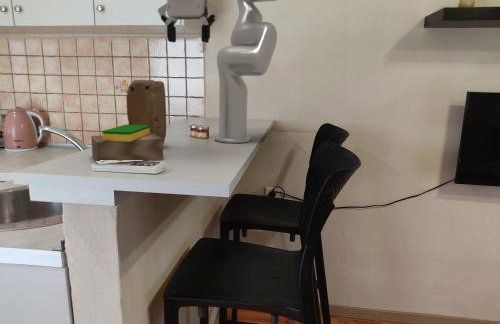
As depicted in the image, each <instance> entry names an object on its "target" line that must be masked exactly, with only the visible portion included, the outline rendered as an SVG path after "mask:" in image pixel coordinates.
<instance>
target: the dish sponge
mask: <svg viewBox="0 0 500 324" xmlns="http://www.w3.org/2000/svg"><path fill="white" fill-rule="evenodd" d="M149 127H150V126H149V125H128V124H123V125H120V126H116V127H112V128H109V129H103V130H102V131H101V136H102V139H103V140H104V141H124V142H130V141H133V140H135V139H138V138H140V137H143V136H145V135H148V134H150V128H149Z"/></svg>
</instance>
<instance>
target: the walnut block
mask: <svg viewBox="0 0 500 324" xmlns="http://www.w3.org/2000/svg"><path fill="white" fill-rule="evenodd" d="M90 137H91V151H92V155H91V156H92V159H93V160H94V159H95V160H94V162H96V161H100V160H143V161H142V162H150V160H153V161H163V160H164V144H163V138H161V137H159V136H157V135H155V134H153V133H150V134H148V135H145V136H143V137H140V138H138V139H135V140H133V141H130V142H124V141H104V140H103V139H102V135H91V136H90ZM148 160H149V161H148Z"/></svg>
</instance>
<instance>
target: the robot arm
mask: <svg viewBox="0 0 500 324" xmlns="http://www.w3.org/2000/svg"><path fill="white" fill-rule="evenodd" d="M276 1H278V0H236V3H237V7H238V17H237V19H236V22H235V24H234V26H233V29H232V31H231V34H230V44H231V45H227V46H224V47H222V48H220V49H219V51H218V52H217V55H216V66H217V70H218V79H219V80H218V82H219V93H218V94H219V100H218V101H219V103H218V105H219V108H218V109H219V111H218V112H219V113H218V114H219V115H218V117H219V118H218V134H217V135H215V136H214V138H213V139H214V141H215V142H219V143H225V144H226V143H227V144H231V143H232V144H241V143H249V142H251V138H252V137H251V136H248V135H247V130H248V129H247V127H248V126H247V121H248V120H247V119H248V118H247V117H248V116H247V115H248V86H247V84H246V82H245V80H243V78H242V76H243V77H245V76H249V77H253V76H254V77H261V76H263V75H265V74H266V73H267V71H268V70H269V66H270V65H271V64H270V63H271V61H272V58H273V55H274V53H275V49H276V46H277V41H278V32H277V29H276V27H275V25H274V24H273V23H272V22H269V21H263V15H262V12H261V10H260V9H259V8H258V7H257V6H256V5H255V3H265V2H276ZM209 9H210V10H211V14H210V15H209ZM220 12H221V9H220V7H218V6H217V5H215V4H214V3H212V2H210V1H209V0H166V3H165V4H163V5H161V6H160V7H158V8H157V13H158V14H159V16H160V20H161V21H162V22H163V23H164V25H165V26H166V34H167V35H166V38H167V41H168V42H171V43H176V42H177V28H176V26H175V25H176V23H177V22H178V20H181V21H182V20H186V21H187V20H200V21H201V22H202V25H201V42H202V43H207V44H208V43H209V40H210V39H211V27H212V26H213V23H215V22H216V21H217V18H218V15H219V13H220Z"/></svg>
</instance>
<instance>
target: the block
mask: <svg viewBox="0 0 500 324" xmlns="http://www.w3.org/2000/svg"><path fill="white" fill-rule="evenodd" d="M126 91H127V92H126V114H127V121H128V124H127V125H149V126H150V127H149V128H150V133H153V134H155V135H157V136H159V137H161V138H163V145H164V144H165V139H166V135H167V106H166V105H167V102H166V98H167V97H166V88H165V83H164V81H161V80H154V79H153V80H152V79H148V80H145V79H134V80H132V82H130V83H129V85H128V88H127V90H126Z"/></svg>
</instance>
